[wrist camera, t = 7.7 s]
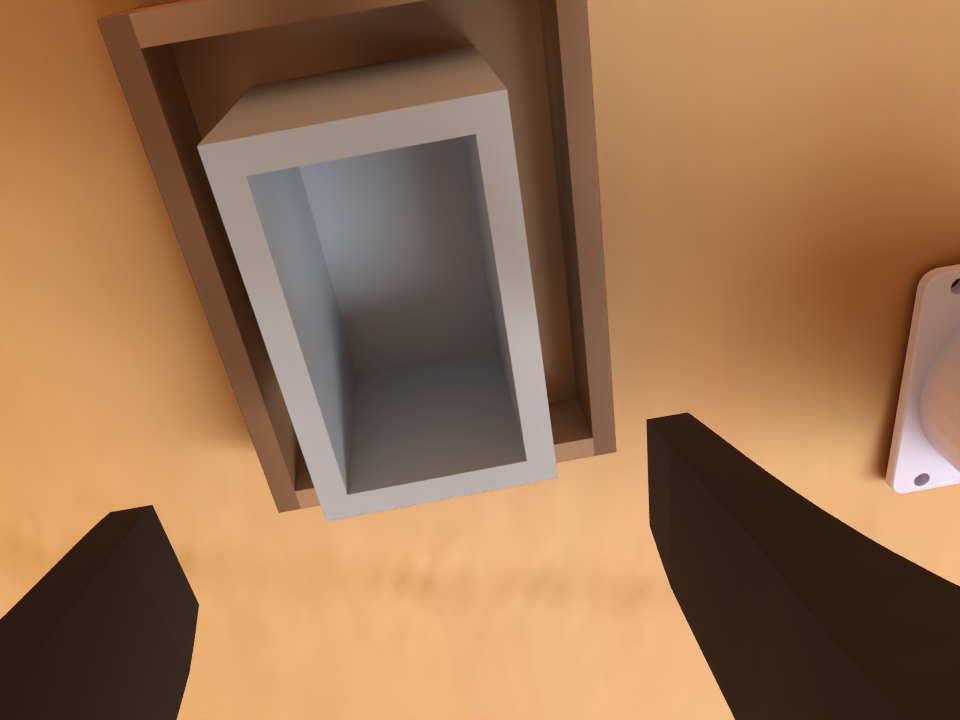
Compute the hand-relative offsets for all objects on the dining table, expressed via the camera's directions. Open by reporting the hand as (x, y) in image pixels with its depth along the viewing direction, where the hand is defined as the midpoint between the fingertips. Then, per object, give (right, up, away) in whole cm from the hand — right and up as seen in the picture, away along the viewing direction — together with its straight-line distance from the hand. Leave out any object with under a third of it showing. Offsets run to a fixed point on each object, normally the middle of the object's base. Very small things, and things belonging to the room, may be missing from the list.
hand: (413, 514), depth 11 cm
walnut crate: (-1, +5, +8) cm, 10 cm away
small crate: (-1, +5, +8) cm, 9 cm away
